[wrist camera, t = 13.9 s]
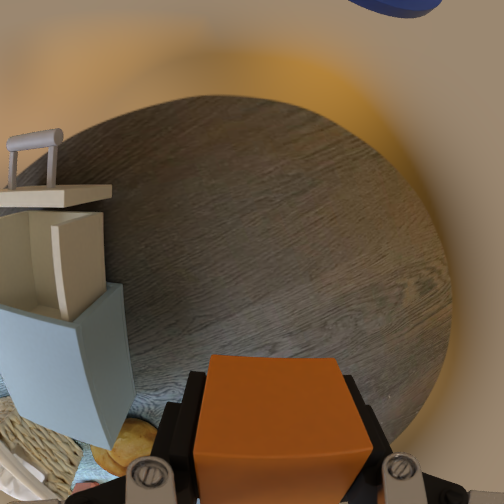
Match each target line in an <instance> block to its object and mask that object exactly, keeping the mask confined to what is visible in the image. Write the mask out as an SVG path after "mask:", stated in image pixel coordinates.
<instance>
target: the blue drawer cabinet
mask: <svg viewBox="0 0 504 504" xmlns="http://www.w3.org/2000/svg"><path fill="white" fill-rule="evenodd" d="M106 289H107V291H106V292H105V293H104V294H103V295H102V296H101V297H100V298H98V299H97V300H96V301H95V302H94V303H93V304H92V305H91V306H90V307H88V308H87V309H86V310H85V311H84V312H83V313H82V314H81V315H80V316H79V317H78V318H76V319H75V320H74V321H73V323H72V322H67V321H63V320H59V319H54V318H50V317H46V316H42V315H38V314H34V313H31V312H27V311H23V310H20V309H16V308H13V307H9V306H6V305H3V304H0V373H1V376H2V378H3V381H4V383H5V385H6V388H7V390H8V392H9V394H10V397H11V399H12V401H13V403H14V405H15V407H16V409H17V411H18V413H19V415H20V416H22V417H24V418H26V419H28V420H30V421H32V422H34V423H36V424H39V425H41V426H43V427H45V428H48V429H50V430H53V431H55V432H57V433H60V434H62V435H65V436H68V437H70V438H73V439H76V440H79V441H81V442H84V443H87V444H90V445H93V446H97V447H100V448H103V449H106V450H110V451H111V450H112V448H113V445H114V444H115V441H116V439H117V437H118V434H119V432H120V430H121V428H122V425H123V423H124V421H125V419H126V416H127V414H128V412H129V410H130V407H131V405H132V403H133V401H134V399H135V396H136V390H135V384H134V378H133V372H132V366H131V359H130V352H129V345H128V337H127V328H126V319H125V309H124V296H123V284H119V283H112V282H106Z"/></svg>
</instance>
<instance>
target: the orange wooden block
mask: <svg viewBox="0 0 504 504" xmlns="http://www.w3.org/2000/svg"><path fill="white" fill-rule="evenodd" d="M372 450H373V446H372V443H371V441H370V438H369V436H368V434H367V431H366V429H365V426H364V424H363V422H362V419H361V417H360V415H359V412H358V410H357V408H356V405H355V403H354V401H353V398H352V396H351V394H350V391H349V389H348V387H347V385H346V382H345V380H344V378H343V375H342V373H341V371H340V369H339V366H338V364H337V362H336V360H335V358H264V357H242V356H226V355H211V358H210V363H209V368H208V373H207V378H206V384H205V389H204V394H203V400H202V405H201V410H200V416H199V421H198V427H197V433H196V438H195V444H194V450H193V456H194V464H195V471H196V478H197V485H198V492H199V498H200V504H339V503H340V501H341V500H342V498H343V497H344V495H345V494H346V492H347V491H348V489H349V488H350V486H351V485H352V483H353V482H354V480H355V479H356V477H357V475H358V474H359V472H360V471H361V469H362V467H363V466H364V464H365V462H366V461H367V459H368V457H369V455H370V454H371V452H372Z"/></svg>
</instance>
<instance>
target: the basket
mask: <svg viewBox="0 0 504 504" xmlns="http://www.w3.org/2000/svg"><path fill="white" fill-rule="evenodd" d="M82 456H83V451H82V449H81V448H80V447H79V446H78V445H77V444H76V443H75V442H74V441H73V439H72V438H70V437H68V436H65V435H62V434H60V433H57V432H55V431H53V430H50V429H48V428H45V427H43V426H41V425H39V424H36V423H34V422H32V421H30V420H28V419H26V418H24V417H22V416H20V415H19V413H18V411H17V409H16V407H15V405H14V403H13V401H12V399H11V397H10V396H8V397H6V398H5V397H2V398H0V490H2V491H4V492H5V493H7V494H8V495H10V496H12V497H14V498H17V499H19V500H21V501H35V500H49V499H58V500H59V501H63V500H66V499H67V498H68V496H69V493H68V492H69V491H70V486H71V484H72V481H73V480H74V477H75V472H76V471H77V469H78V466H79V464H80V461H81V457H82Z"/></svg>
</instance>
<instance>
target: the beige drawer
mask: <svg viewBox="0 0 504 504" xmlns="http://www.w3.org/2000/svg"><path fill="white" fill-rule="evenodd" d="M62 141H63V132H62V130H61V129H59V128H57V129H50V130H44V131H38V132H32V133H27V134H22V135H17V136H12V137H10V138H9V139H8V141H7V144H6V145H7V150H8V151H9V152H10V158H9V160H10V161H9V181H8V189H1V190H0V207H59V208H65V207H69V206H74V205H78V204H83V203H88V202H93V201H97V200H103V199H108V198H112V185H56V166H57V151H58V146H59V145H60V144H61V143H62ZM44 147H49V151H48V165H47V185H43V186H24V187H16V171H17V154H18V152H17V151H21V150H28V149H36V148H44ZM106 291H107V289H106V277H105V261H104V233H103V212H81V211H46V210H27V211H22V212H18V213H14V214H10V215H6V216H2V217H0V304H3V305H6V306H9V307H13V308H16V309H20V310H23V311H27V312H31V313H34V314H38V315H42V316H46V317H50V318H54V319H59V320H63V321H67V322H72V323H73V321H74V320H75V319H76V318H78V317H79V316H80V315H81V314H82V313H83V312H84V311H85V310H86V309H87V308H88V307H90V306H91V305H92V304H93V303H94V302H95V301H96V300H97V299H98V298H100V297H101V296H102V295H103V294H104V293H105V292H106Z"/></svg>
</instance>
